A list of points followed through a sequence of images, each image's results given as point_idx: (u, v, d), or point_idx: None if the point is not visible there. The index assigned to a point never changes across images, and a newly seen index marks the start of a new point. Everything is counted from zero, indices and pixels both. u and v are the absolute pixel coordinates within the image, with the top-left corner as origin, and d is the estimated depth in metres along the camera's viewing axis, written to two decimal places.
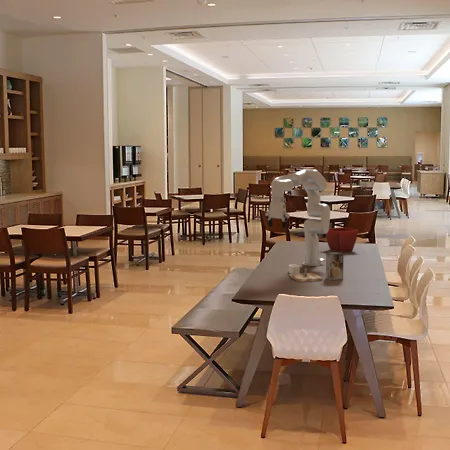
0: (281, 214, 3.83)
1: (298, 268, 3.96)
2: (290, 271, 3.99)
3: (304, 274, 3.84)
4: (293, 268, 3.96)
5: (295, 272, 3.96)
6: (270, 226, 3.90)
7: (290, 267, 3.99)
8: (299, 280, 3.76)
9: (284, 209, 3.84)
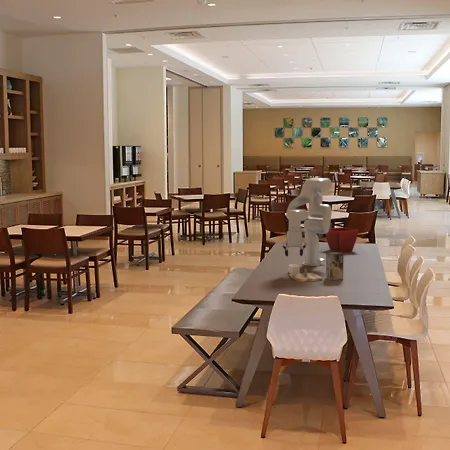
0: (301, 242, 3.96)
1: (298, 268, 3.96)
2: (290, 271, 3.99)
3: (304, 274, 3.84)
4: (293, 268, 3.96)
5: (295, 272, 3.96)
6: (287, 255, 3.96)
7: (290, 267, 3.99)
8: (299, 280, 3.76)
9: None
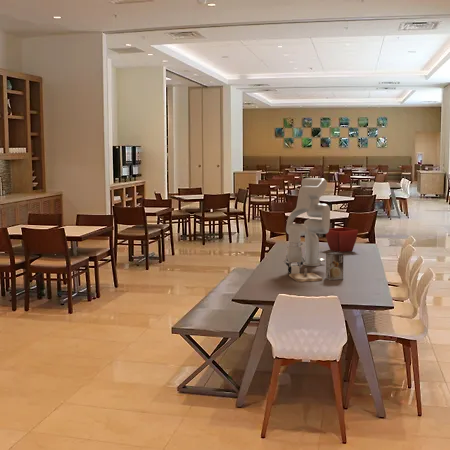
0: (301, 258, 3.98)
1: (298, 268, 3.96)
2: None
3: (304, 274, 3.84)
4: (293, 268, 3.96)
5: (295, 272, 3.96)
6: (290, 272, 3.99)
7: None
8: (299, 280, 3.76)
9: None
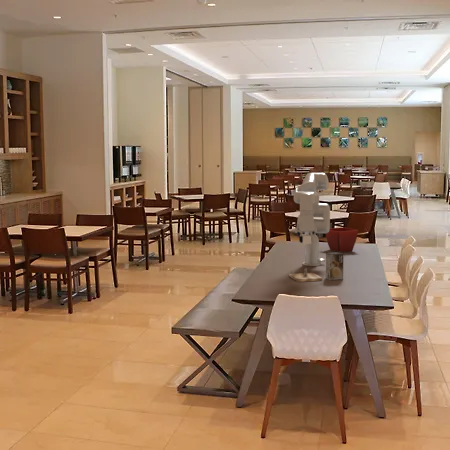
0: (313, 227, 3.80)
1: (310, 237, 3.79)
2: None
3: (304, 274, 3.84)
4: (305, 237, 3.78)
5: (307, 241, 3.79)
6: None
7: None
8: (299, 280, 3.76)
9: None
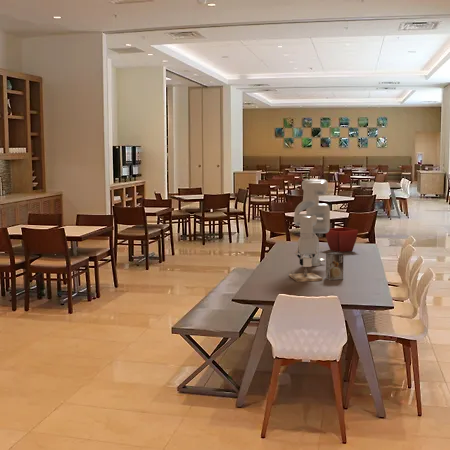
0: (313, 249, 3.81)
1: (310, 260, 3.80)
2: None
3: (304, 274, 3.84)
4: (305, 260, 3.79)
5: (307, 264, 3.80)
6: (302, 265, 3.82)
7: None
8: (299, 280, 3.76)
9: None
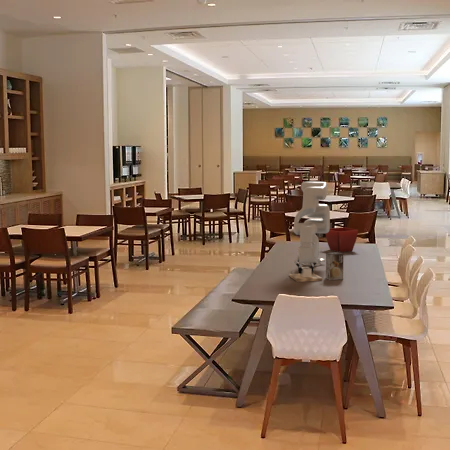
0: (313, 258, 3.82)
1: (310, 271, 3.81)
2: (301, 274, 3.84)
3: None
4: (305, 271, 3.81)
5: (307, 275, 3.81)
6: None
7: None
8: (299, 280, 3.76)
9: None
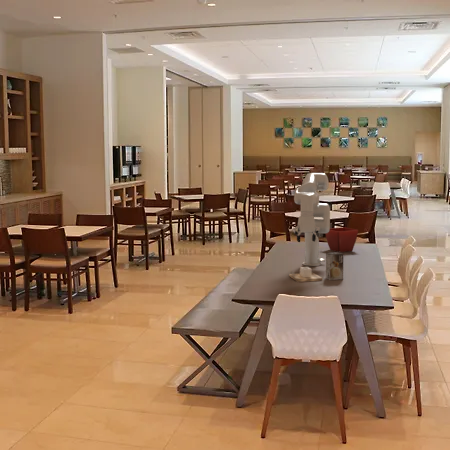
0: (314, 228, 3.80)
1: (310, 271, 3.81)
2: (301, 274, 3.84)
3: None
4: (305, 271, 3.81)
5: (307, 275, 3.81)
6: (299, 241, 3.80)
7: (301, 270, 3.84)
8: (299, 280, 3.76)
9: None
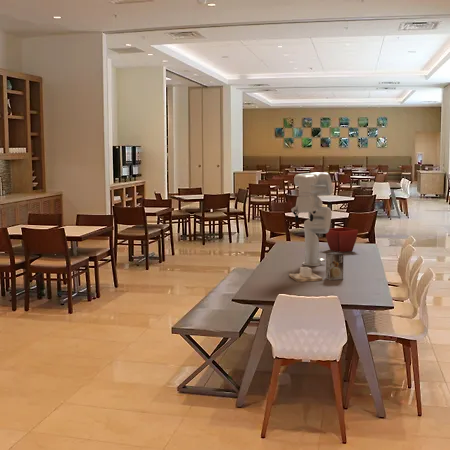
0: (311, 208, 3.97)
1: (310, 271, 3.81)
2: (301, 274, 3.84)
3: None
4: (305, 271, 3.81)
5: (307, 275, 3.81)
6: (297, 221, 3.97)
7: (301, 270, 3.84)
8: (299, 280, 3.76)
9: None
